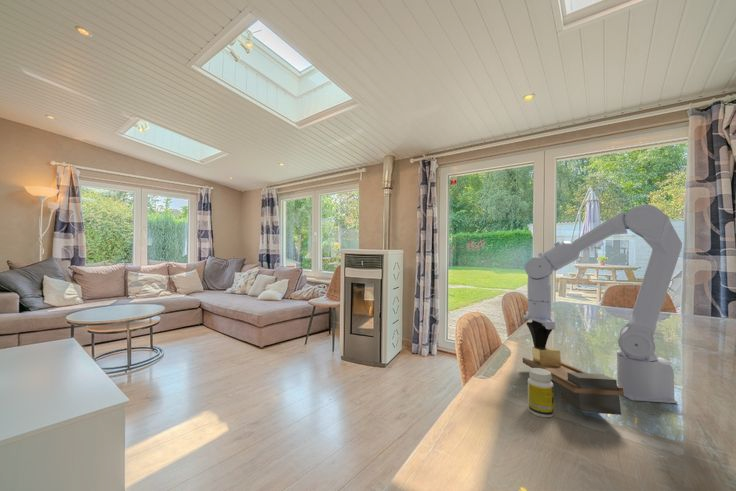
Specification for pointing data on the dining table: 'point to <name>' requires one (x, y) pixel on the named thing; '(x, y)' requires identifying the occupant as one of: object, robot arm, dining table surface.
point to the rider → (546, 356)
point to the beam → (585, 388)
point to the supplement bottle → (540, 393)
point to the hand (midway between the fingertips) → (539, 349)
